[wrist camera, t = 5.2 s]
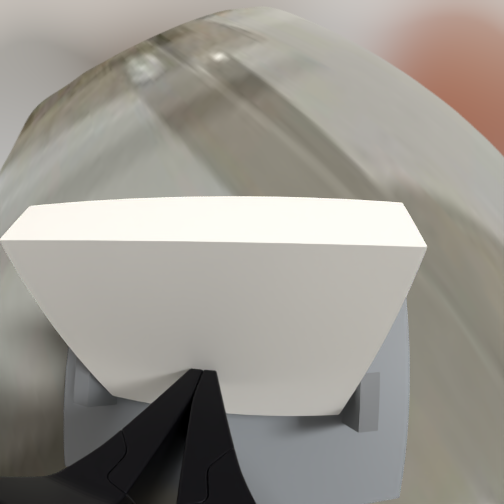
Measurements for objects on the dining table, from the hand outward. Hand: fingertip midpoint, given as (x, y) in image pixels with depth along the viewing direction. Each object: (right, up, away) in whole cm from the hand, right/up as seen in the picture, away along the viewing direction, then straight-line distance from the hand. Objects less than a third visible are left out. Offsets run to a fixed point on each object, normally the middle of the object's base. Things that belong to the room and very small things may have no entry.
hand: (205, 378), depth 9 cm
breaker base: (0, -4, +7) cm, 8 cm away
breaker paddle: (0, -2, +3) cm, 4 cm away
